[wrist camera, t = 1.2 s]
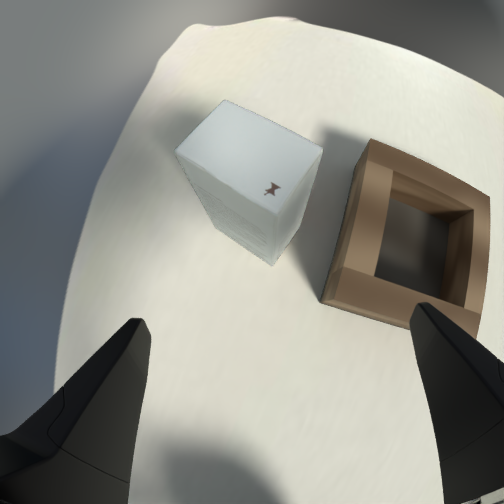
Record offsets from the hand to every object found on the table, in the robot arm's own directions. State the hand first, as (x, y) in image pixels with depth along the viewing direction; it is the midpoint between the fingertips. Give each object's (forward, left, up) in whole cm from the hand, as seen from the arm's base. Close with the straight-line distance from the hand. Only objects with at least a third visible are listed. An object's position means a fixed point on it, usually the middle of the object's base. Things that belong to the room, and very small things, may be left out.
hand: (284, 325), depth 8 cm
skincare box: (+4, +7, -14) cm, 16 cm away
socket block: (+12, -4, -14) cm, 19 cm away
